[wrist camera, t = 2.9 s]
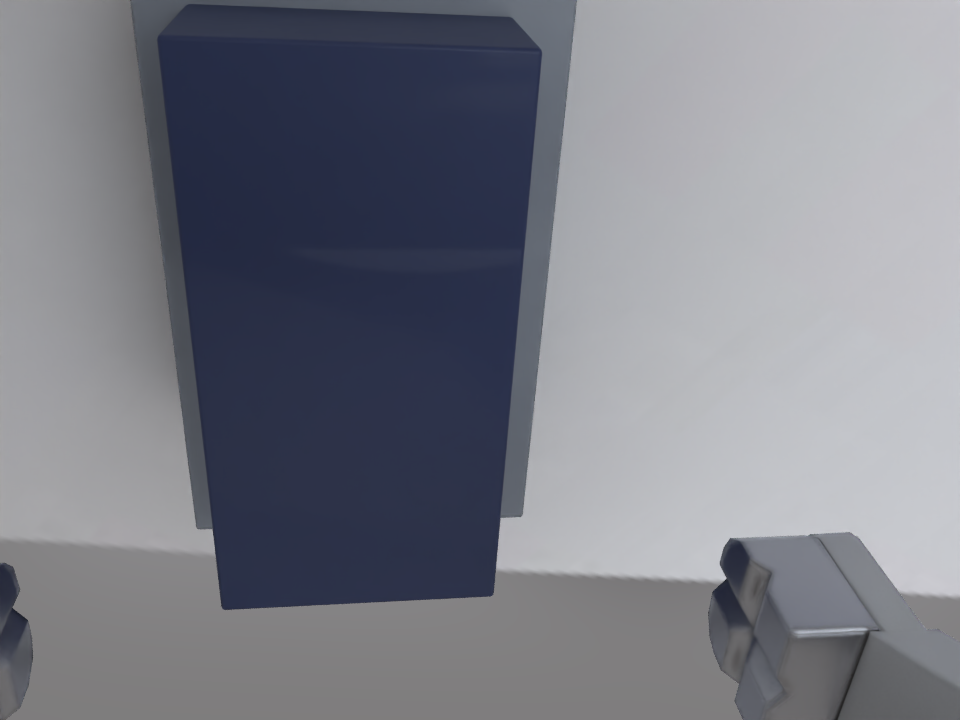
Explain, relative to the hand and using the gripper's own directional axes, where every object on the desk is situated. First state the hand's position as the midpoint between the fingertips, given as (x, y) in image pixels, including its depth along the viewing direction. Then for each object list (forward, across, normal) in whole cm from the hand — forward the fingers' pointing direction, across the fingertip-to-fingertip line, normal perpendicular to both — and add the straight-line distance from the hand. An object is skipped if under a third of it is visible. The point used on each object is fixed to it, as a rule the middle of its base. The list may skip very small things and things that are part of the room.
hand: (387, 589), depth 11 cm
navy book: (+7, 0, 0) cm, 7 cm away
